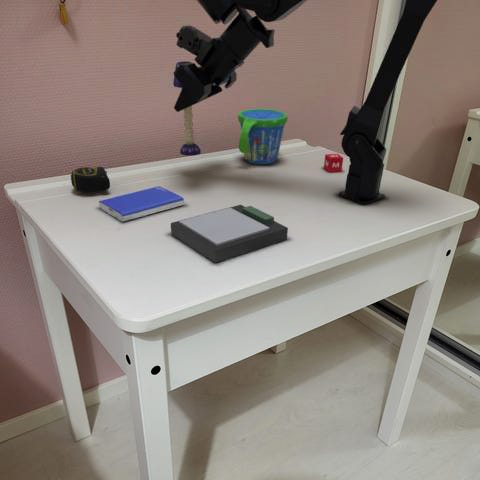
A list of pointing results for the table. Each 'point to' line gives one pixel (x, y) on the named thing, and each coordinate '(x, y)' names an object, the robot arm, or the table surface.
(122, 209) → the hard drive
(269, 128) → the snack cup
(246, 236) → the scale
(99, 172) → the tape measure
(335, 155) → the dice
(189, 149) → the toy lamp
